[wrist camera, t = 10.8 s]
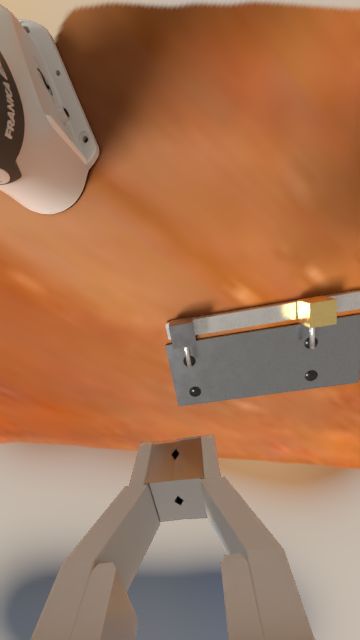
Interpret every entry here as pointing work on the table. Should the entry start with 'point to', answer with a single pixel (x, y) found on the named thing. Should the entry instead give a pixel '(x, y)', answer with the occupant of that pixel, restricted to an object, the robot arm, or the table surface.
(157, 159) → the table surface
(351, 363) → the flange plate
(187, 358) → the trammel beam
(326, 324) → the sliding head
